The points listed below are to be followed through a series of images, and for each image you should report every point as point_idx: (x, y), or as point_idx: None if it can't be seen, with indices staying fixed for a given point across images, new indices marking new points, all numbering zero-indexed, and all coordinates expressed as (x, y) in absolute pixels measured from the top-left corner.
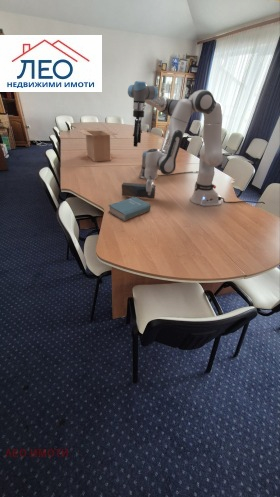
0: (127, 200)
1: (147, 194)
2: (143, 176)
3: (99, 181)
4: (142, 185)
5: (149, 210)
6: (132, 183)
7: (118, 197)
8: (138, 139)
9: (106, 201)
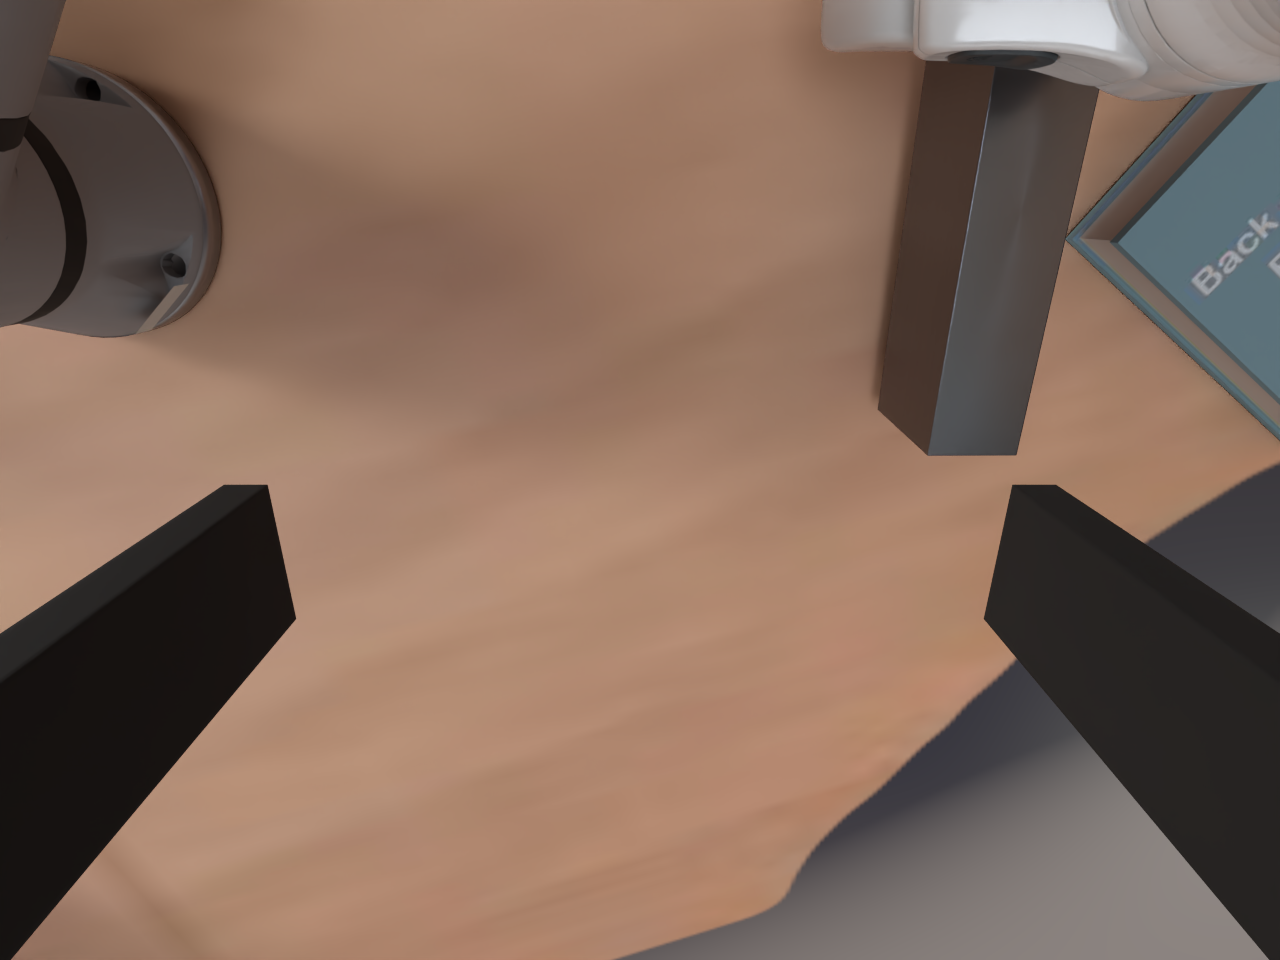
0: (1242, 304)
1: None
2: (191, 260)
3: (536, 716)
4: (1036, 149)
5: None
6: (959, 323)
7: None
8: (215, 636)
9: None
